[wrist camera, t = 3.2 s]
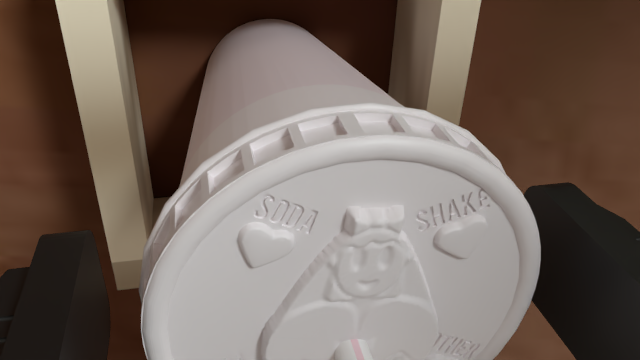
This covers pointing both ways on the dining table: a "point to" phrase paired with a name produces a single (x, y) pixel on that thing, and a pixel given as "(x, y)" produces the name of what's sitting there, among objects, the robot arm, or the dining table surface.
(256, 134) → the smoothie
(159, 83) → the dining table surface
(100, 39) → the rectangular wooden frame
